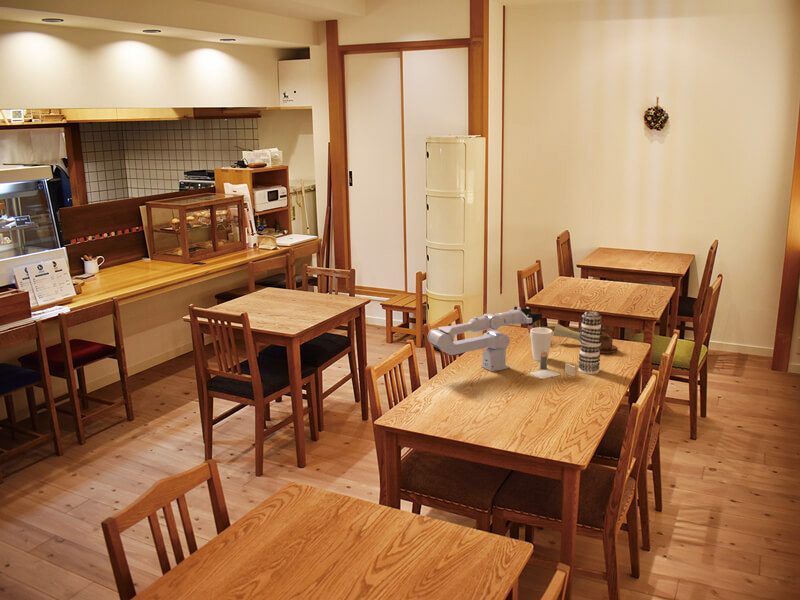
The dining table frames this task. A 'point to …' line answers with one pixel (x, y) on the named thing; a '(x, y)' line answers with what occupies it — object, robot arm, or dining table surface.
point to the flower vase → (561, 331)
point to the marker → (543, 361)
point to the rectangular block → (570, 369)
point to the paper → (544, 374)
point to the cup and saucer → (607, 345)
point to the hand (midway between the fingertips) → (535, 313)
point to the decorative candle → (590, 342)
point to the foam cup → (540, 341)
